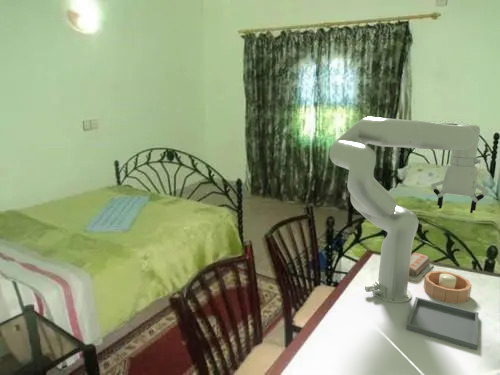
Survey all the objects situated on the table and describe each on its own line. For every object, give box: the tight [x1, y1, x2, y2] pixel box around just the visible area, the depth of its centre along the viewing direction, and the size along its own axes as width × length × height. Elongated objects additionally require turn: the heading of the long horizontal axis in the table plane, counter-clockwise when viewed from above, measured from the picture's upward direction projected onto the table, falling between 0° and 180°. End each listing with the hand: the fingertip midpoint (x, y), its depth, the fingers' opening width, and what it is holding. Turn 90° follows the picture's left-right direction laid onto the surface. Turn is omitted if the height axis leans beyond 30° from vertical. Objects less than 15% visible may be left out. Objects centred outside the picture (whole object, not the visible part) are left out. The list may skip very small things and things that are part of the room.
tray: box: [406, 296, 479, 351], centre depth 116 cm, size 18×18×2 cm
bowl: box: [423, 270, 473, 304], centre depth 134 cm, size 14×14×5 cm
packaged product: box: [408, 251, 434, 283], centre depth 151 cm, size 18×5×10 cm
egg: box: [438, 274, 456, 289], centre depth 133 cm, size 5×5×6 cm
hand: (455, 209), depth 134 cm, fingers open, 9 cm apart
